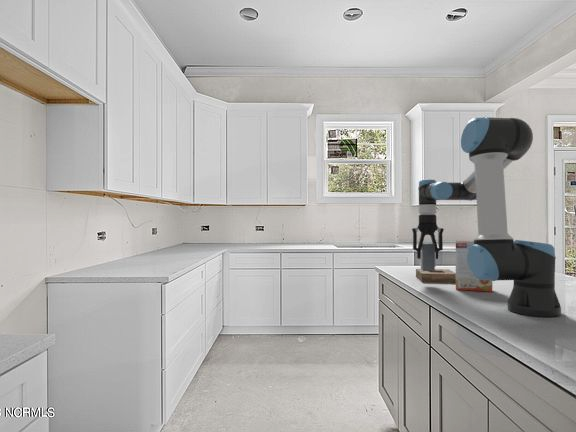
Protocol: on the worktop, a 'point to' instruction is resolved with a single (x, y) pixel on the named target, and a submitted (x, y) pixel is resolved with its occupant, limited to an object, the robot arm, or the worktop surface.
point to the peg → (428, 257)
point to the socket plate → (436, 276)
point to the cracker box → (467, 270)
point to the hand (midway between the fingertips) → (427, 266)
